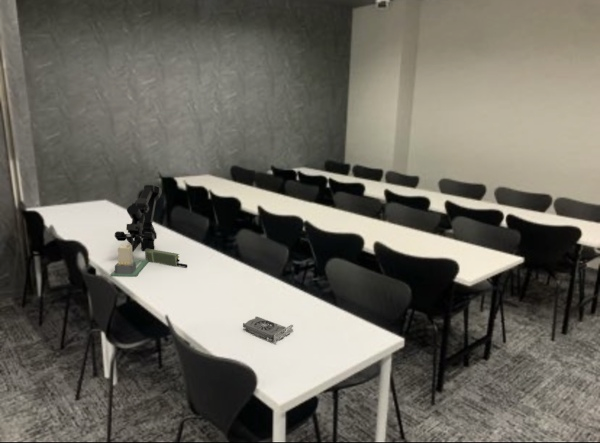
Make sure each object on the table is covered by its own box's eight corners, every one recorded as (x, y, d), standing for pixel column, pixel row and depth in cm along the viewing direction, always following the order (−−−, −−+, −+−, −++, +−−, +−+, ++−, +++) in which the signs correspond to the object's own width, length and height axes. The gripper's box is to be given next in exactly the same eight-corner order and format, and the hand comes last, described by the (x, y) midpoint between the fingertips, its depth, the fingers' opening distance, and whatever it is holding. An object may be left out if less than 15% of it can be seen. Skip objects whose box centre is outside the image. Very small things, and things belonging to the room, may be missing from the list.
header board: (125, 261, 236) (124, 249, 235) (148, 261, 237) (147, 250, 235) (110, 276, 217) (109, 263, 215) (136, 276, 217) (135, 263, 216)
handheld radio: (149, 259, 241) (189, 267, 232) (144, 261, 238) (185, 269, 229) (147, 247, 239) (188, 254, 230) (143, 249, 236) (184, 257, 227)
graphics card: (295, 324, 171) (275, 336, 161) (295, 333, 172) (275, 346, 162) (261, 311, 180) (240, 322, 170) (260, 320, 181) (240, 331, 171)
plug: (123, 268, 224) (121, 242, 220) (133, 268, 224) (131, 242, 221) (119, 271, 219) (117, 245, 216) (130, 272, 219) (128, 246, 216)
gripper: (114, 216, 229) (107, 244, 221) (151, 216, 229) (146, 245, 222) (120, 226, 238) (115, 253, 231) (157, 227, 239) (152, 254, 231)
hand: (131, 251), depth 229 cm, fingers closed
